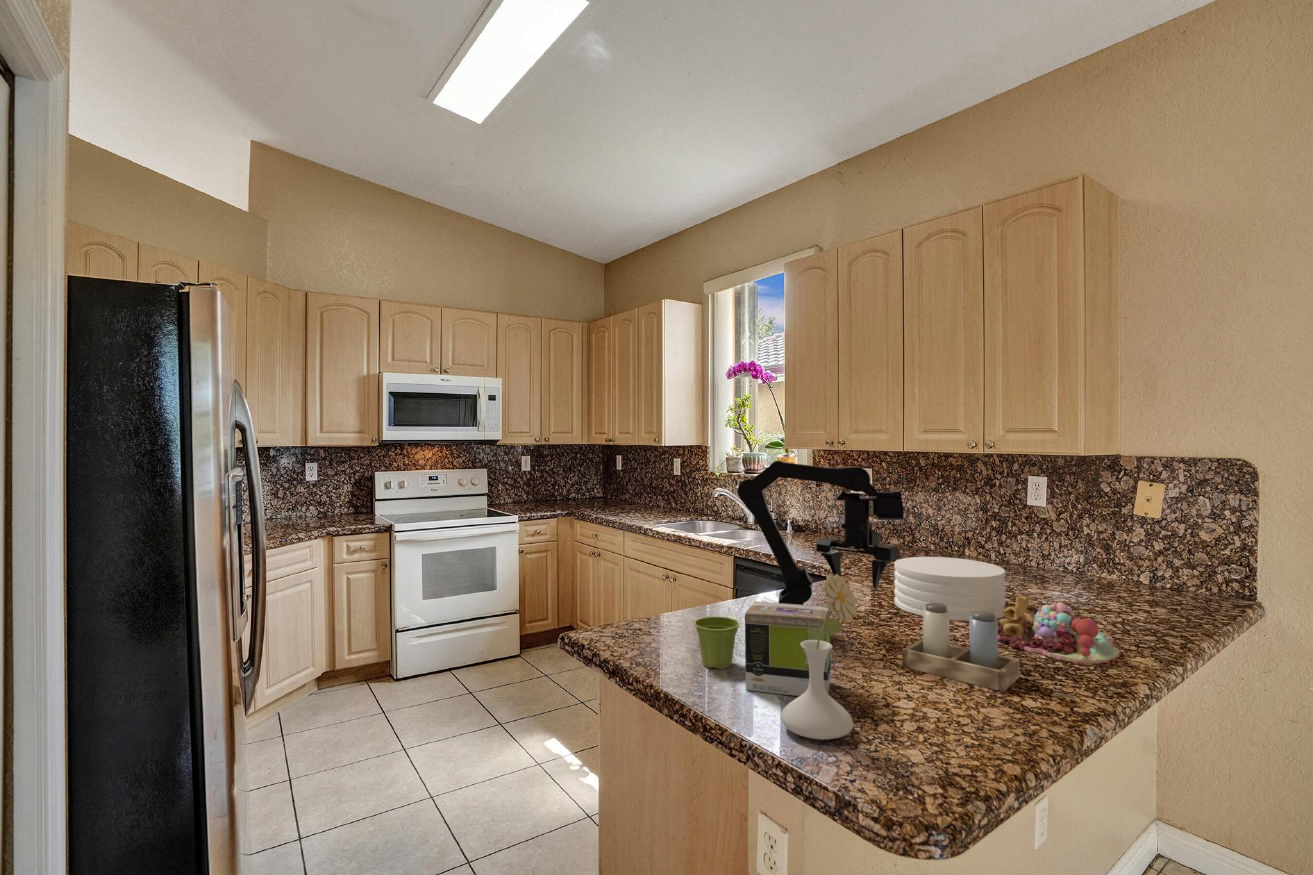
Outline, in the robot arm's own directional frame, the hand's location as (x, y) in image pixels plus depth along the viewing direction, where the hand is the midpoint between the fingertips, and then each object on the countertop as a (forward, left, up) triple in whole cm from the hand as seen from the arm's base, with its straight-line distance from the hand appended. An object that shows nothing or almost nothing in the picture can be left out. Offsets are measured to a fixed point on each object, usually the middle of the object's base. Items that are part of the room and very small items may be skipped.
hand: (856, 585), depth 153 cm
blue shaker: (+11, -29, -12) cm, 34 cm away
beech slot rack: (+9, -26, -12) cm, 30 cm away
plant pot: (-38, -12, -12) cm, 42 cm away
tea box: (-28, -26, -12) cm, 40 cm away
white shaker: (+6, -22, -12) cm, 26 cm away
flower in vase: (-30, -44, -12) cm, 55 cm away
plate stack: (+38, +19, -12) cm, 44 cm away
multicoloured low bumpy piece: (+42, -13, -13) cm, 46 cm away
